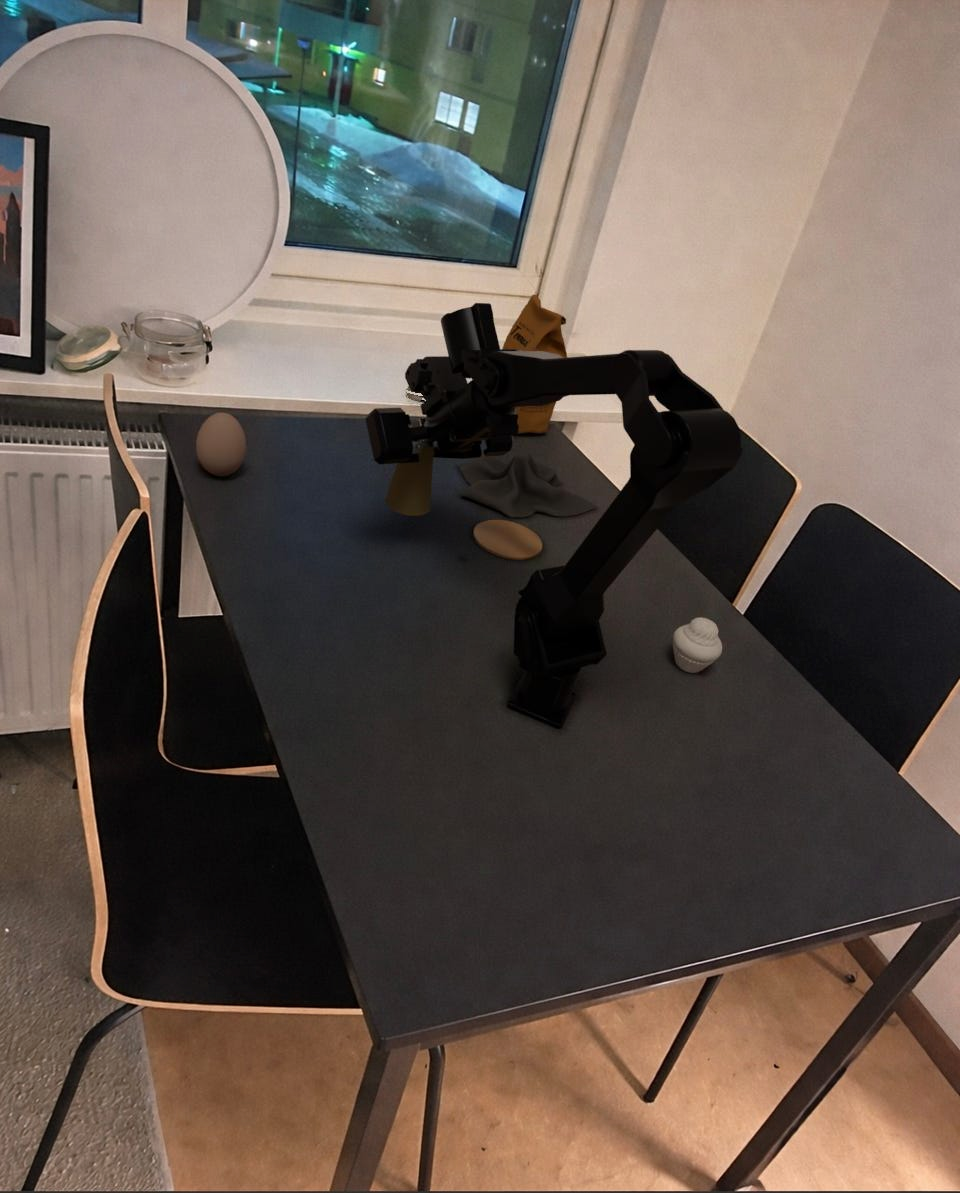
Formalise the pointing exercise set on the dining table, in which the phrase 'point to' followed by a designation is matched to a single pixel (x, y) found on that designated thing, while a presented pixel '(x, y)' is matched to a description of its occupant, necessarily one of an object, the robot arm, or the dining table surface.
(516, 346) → the coffee package
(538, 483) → the cloth
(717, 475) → the robot arm
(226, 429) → the egg
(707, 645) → the muffin
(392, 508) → the pepper shaker
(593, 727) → the dining table surface
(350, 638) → the dining table surface
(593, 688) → the dining table surface
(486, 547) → the cork coaster
